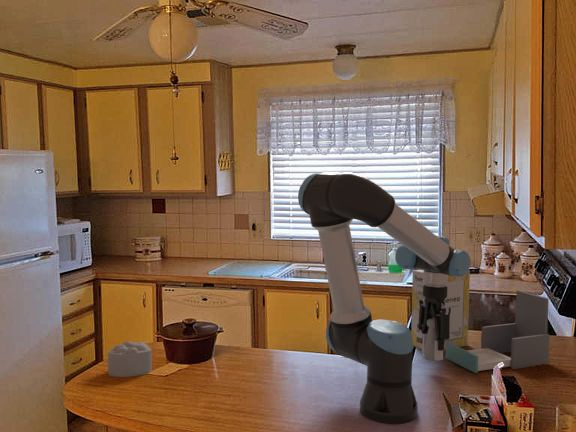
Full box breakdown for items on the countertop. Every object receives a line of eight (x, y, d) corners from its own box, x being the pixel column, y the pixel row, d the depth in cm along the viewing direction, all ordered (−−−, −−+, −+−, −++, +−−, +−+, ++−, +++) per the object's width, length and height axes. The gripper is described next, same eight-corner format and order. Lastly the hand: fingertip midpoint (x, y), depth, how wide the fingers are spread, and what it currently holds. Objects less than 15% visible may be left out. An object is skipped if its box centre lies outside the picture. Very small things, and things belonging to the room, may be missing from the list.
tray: (475, 373, 175) (476, 356, 175) (445, 358, 190) (446, 342, 189) (516, 367, 181) (517, 350, 181) (484, 352, 195) (484, 337, 195)
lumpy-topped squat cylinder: (153, 373, 176) (153, 346, 175) (111, 379, 170) (110, 352, 169) (146, 363, 185) (145, 337, 184) (105, 369, 179) (105, 342, 178)
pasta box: (431, 353, 197) (433, 274, 194) (411, 345, 206) (412, 270, 204) (467, 345, 206) (469, 270, 204) (446, 338, 215) (448, 266, 213)
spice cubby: (512, 369, 180) (515, 302, 179) (480, 354, 195) (482, 292, 193) (548, 363, 186) (550, 299, 184) (514, 350, 200) (516, 290, 198)
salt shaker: (422, 361, 175) (423, 320, 174) (423, 355, 180) (424, 316, 180) (441, 363, 173) (443, 322, 172) (441, 357, 179) (443, 318, 178)
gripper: (464, 289, 168) (460, 365, 169) (427, 279, 186) (424, 347, 187) (443, 291, 165) (440, 367, 167) (408, 280, 183) (405, 349, 184)
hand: (432, 356), depth 177 cm, fingers closed on salt shaker, 6 cm apart
